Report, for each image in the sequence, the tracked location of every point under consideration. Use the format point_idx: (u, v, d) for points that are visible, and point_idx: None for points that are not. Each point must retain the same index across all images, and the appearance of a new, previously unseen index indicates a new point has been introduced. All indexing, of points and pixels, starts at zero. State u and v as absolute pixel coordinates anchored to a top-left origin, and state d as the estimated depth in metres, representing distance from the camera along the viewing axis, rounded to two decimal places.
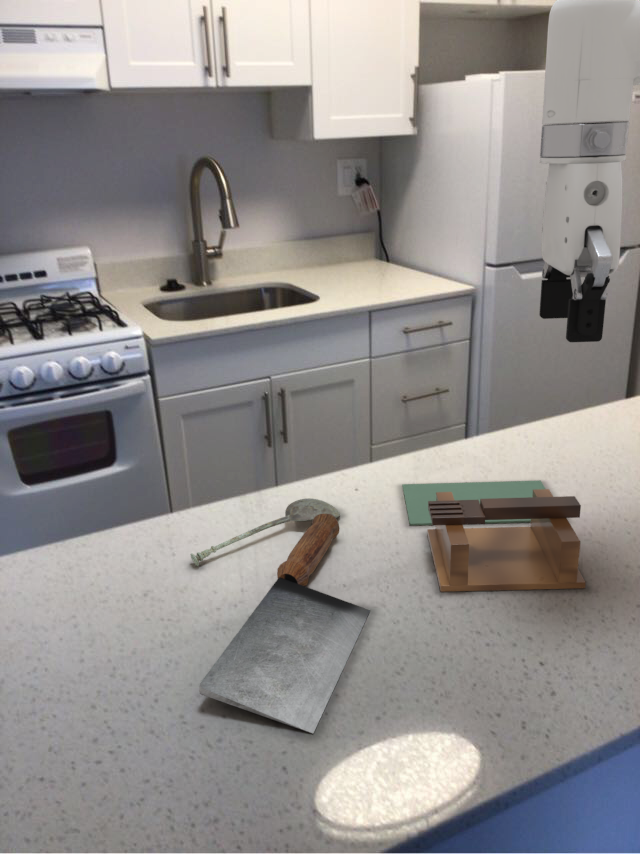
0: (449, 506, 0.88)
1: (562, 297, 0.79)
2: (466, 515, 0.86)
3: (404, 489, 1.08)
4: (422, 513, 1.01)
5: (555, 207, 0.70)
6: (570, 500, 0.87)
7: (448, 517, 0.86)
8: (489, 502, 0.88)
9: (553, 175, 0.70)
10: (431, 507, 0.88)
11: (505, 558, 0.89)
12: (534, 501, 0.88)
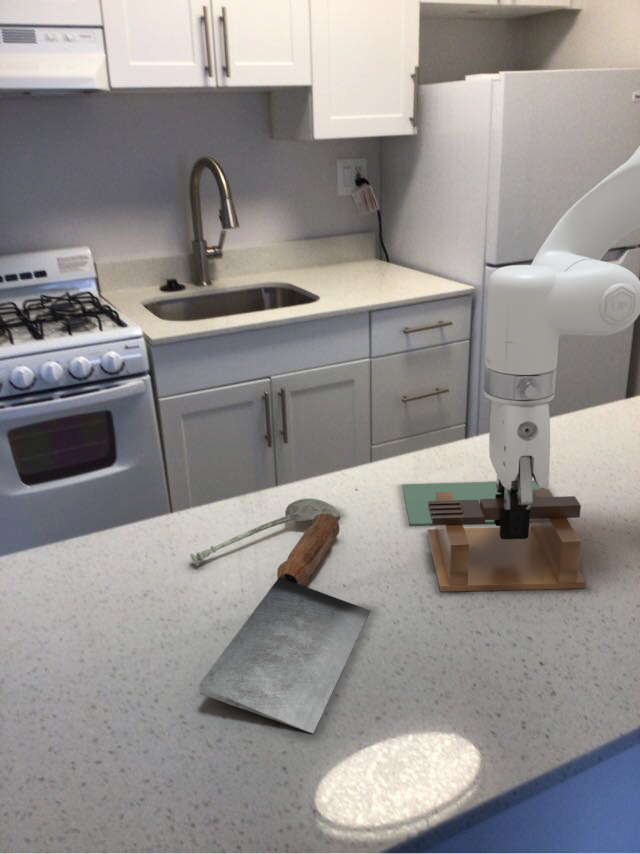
0: (449, 506, 0.88)
1: None
2: (466, 515, 0.86)
3: (404, 489, 1.08)
4: (422, 513, 1.01)
5: (496, 431, 0.83)
6: (570, 500, 0.87)
7: (448, 517, 0.86)
8: (489, 502, 0.88)
9: (495, 404, 0.83)
10: (431, 507, 0.88)
11: (505, 558, 0.89)
12: (534, 501, 0.88)
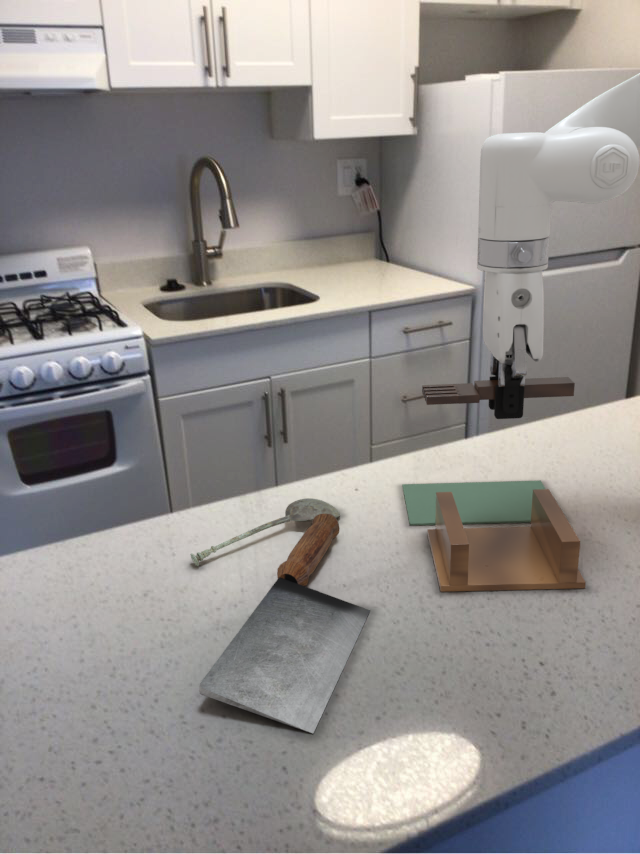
0: (443, 388, 0.88)
1: None
2: (461, 394, 0.86)
3: (404, 489, 1.08)
4: (422, 513, 1.01)
5: (490, 305, 0.83)
6: (564, 380, 0.87)
7: (442, 396, 0.86)
8: (483, 383, 0.88)
9: (488, 278, 0.83)
10: (425, 389, 0.88)
11: (505, 558, 0.89)
12: (528, 381, 0.88)
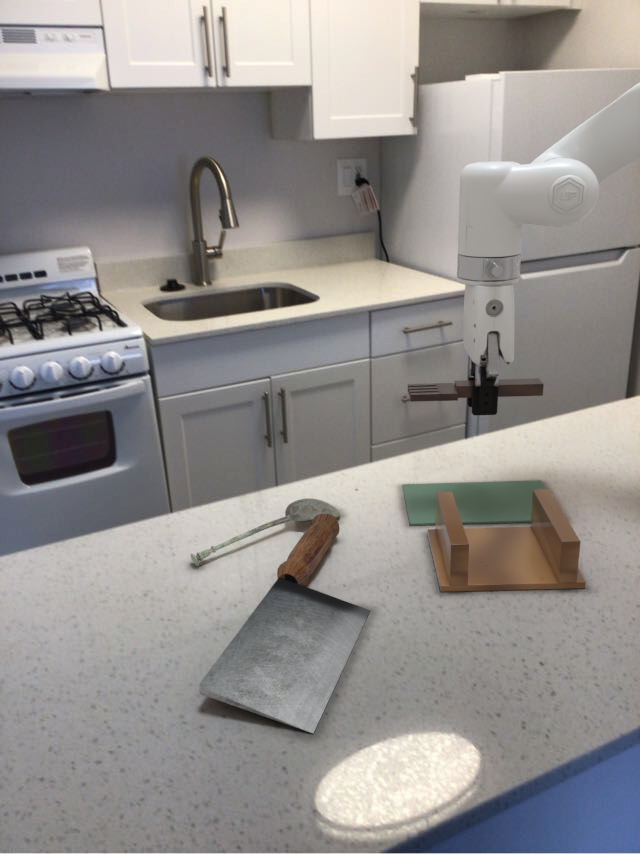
0: (426, 387, 0.98)
1: None
2: (441, 392, 0.96)
3: (404, 489, 1.08)
4: (422, 513, 1.01)
5: (468, 313, 0.93)
6: (535, 381, 0.97)
7: (425, 394, 0.96)
8: (462, 382, 0.98)
9: (466, 289, 0.93)
10: (410, 388, 0.98)
11: (505, 558, 0.89)
12: (502, 381, 0.98)
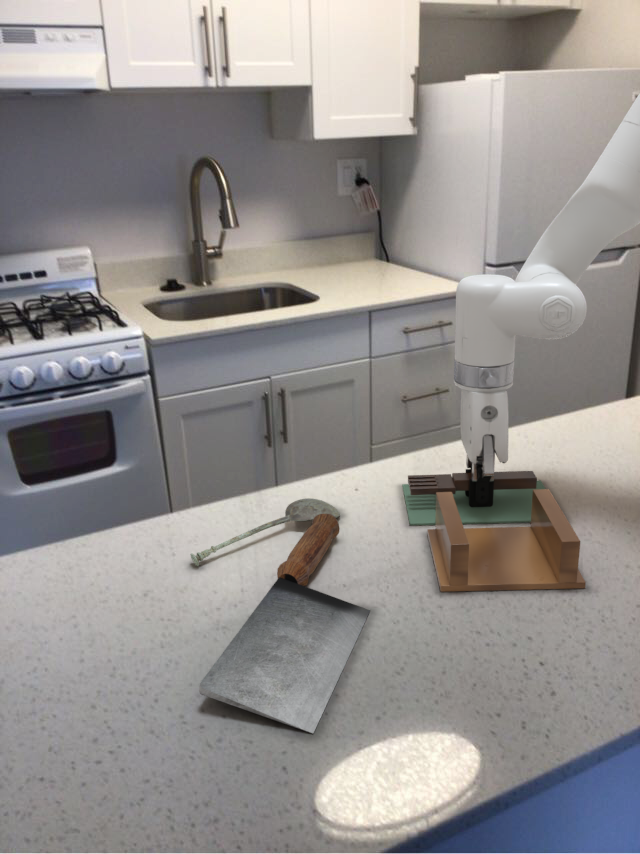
0: (425, 480, 1.04)
1: None
2: (439, 486, 1.02)
3: (404, 489, 1.08)
4: (422, 513, 1.01)
5: (464, 415, 0.98)
6: (528, 474, 1.03)
7: (424, 488, 1.01)
8: (459, 476, 1.03)
9: (463, 392, 0.98)
10: (410, 480, 1.04)
11: (505, 558, 0.89)
12: (497, 474, 1.03)
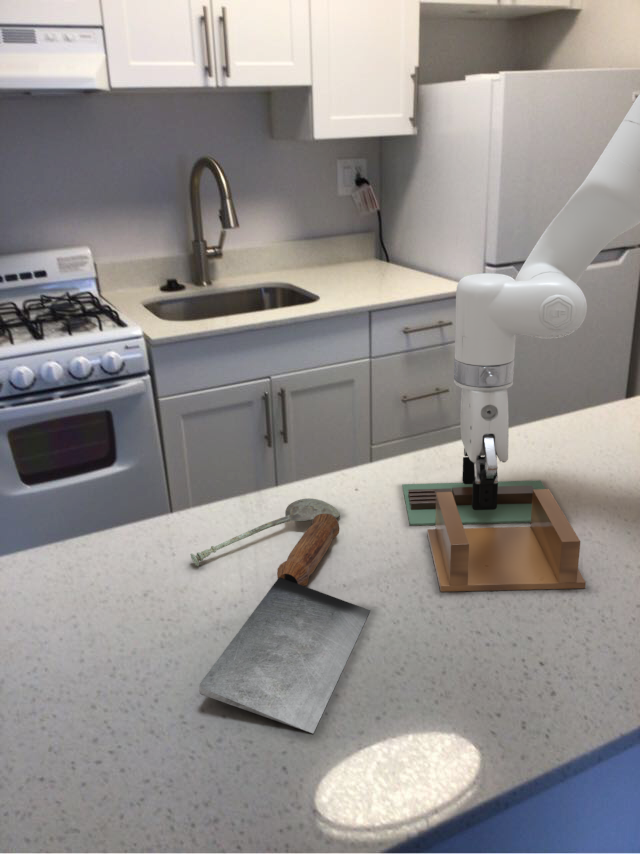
0: (425, 494, 1.04)
1: None
2: None
3: (404, 489, 1.08)
4: (422, 513, 1.01)
5: (464, 414, 0.98)
6: (528, 489, 1.03)
7: (424, 502, 1.02)
8: (459, 490, 1.04)
9: (463, 391, 0.98)
10: (410, 494, 1.04)
11: (505, 558, 0.89)
12: None
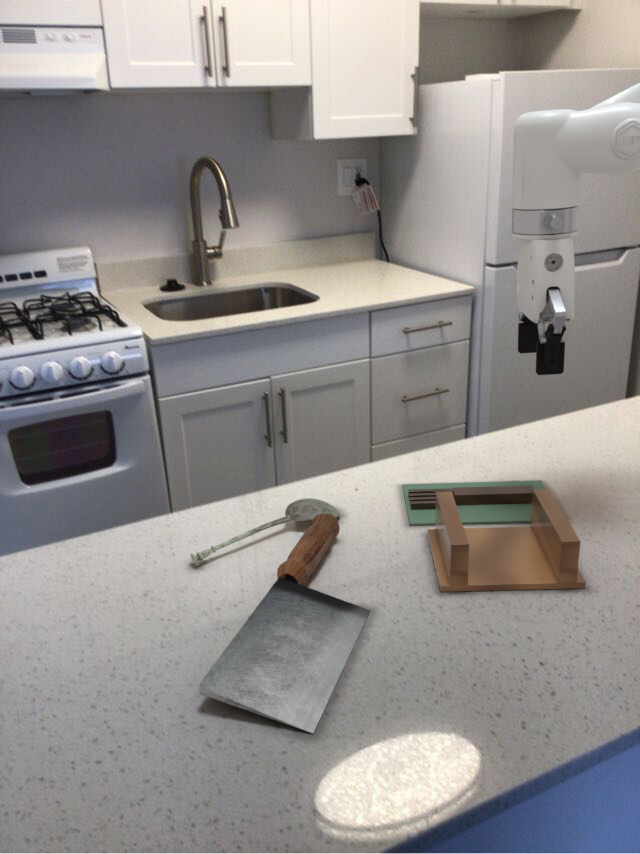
0: (425, 494, 1.04)
1: (535, 336, 0.99)
2: None
3: (404, 489, 1.08)
4: (422, 513, 1.01)
5: (524, 271, 0.90)
6: (528, 489, 1.03)
7: (424, 502, 1.02)
8: (459, 490, 1.04)
9: (522, 246, 0.90)
10: (410, 494, 1.04)
11: (505, 558, 0.89)
12: (497, 489, 1.04)
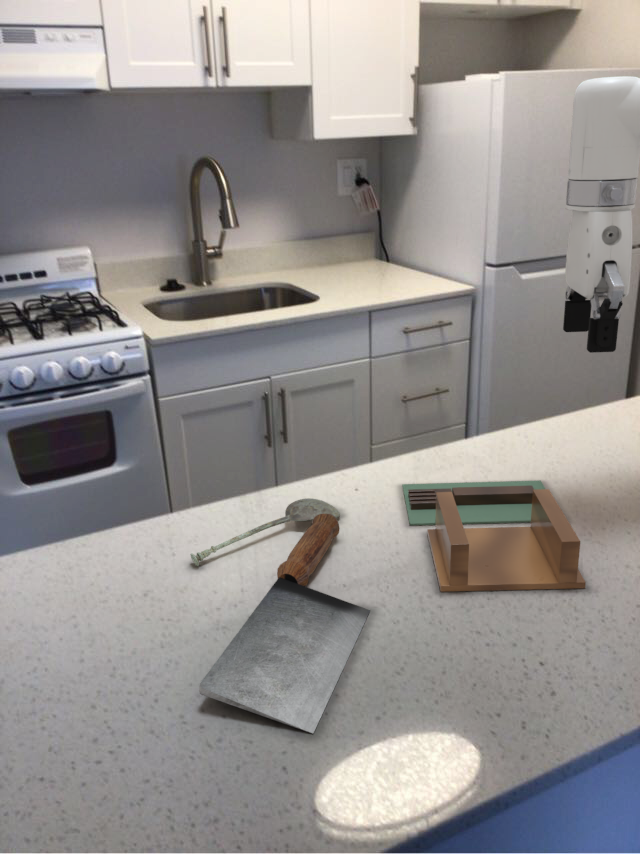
0: (425, 494, 1.04)
1: (582, 314, 0.96)
2: None
3: (404, 489, 1.08)
4: (422, 513, 1.01)
5: (578, 244, 0.87)
6: (528, 489, 1.03)
7: (424, 502, 1.02)
8: (459, 490, 1.04)
9: (576, 219, 0.88)
10: (410, 494, 1.04)
11: (505, 558, 0.89)
12: (497, 489, 1.04)
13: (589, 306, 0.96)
